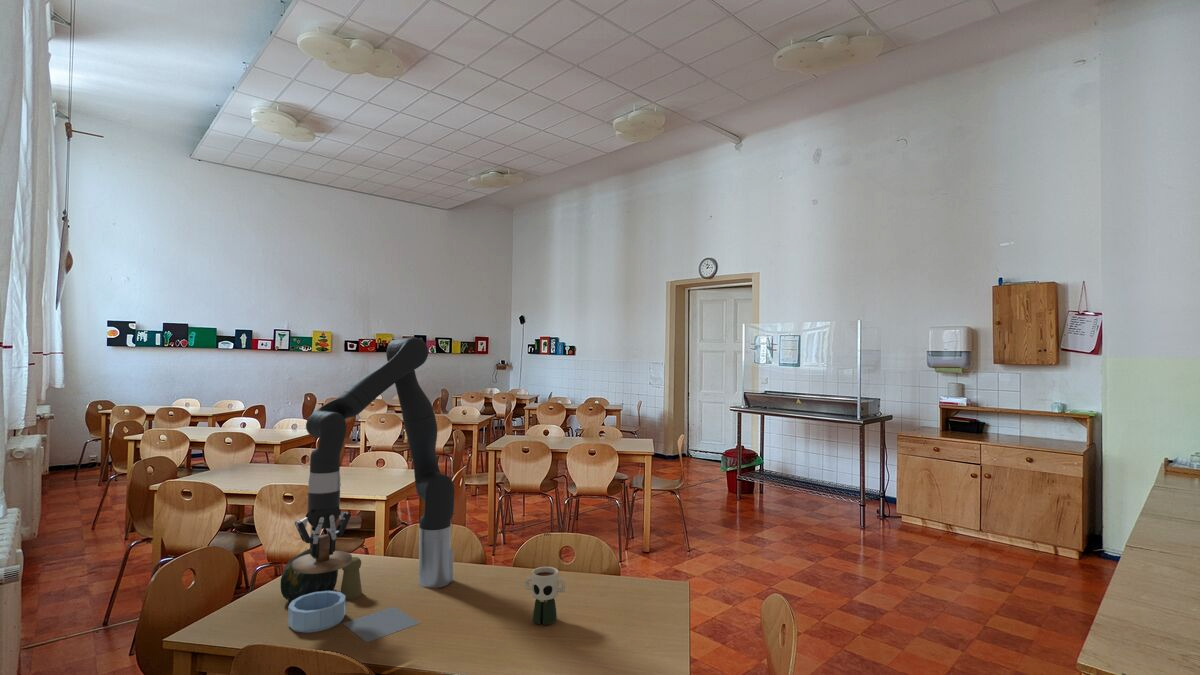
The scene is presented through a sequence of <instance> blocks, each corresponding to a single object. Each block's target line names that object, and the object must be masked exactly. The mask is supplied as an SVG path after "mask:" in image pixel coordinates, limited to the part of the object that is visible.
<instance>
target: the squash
mask: <svg viewBox="0 0 1200 675" xmlns="http://www.w3.org/2000/svg"><path fill="white" fill-rule="evenodd" d="M307 554H310V548H308V549H306V550H304V551H303V552H301V553H299V554H298V555H296V556H294V557H292V558H291V559H290V560H289V561H288V562H287V563H286V566H285V567H284V569H283V573H282V575H281V577H280V591H281V595H282V596H283V598H285V599H286V600H287V601H293V600H295V599H296V598H298V597H300V596H303V595H306V594H310V593H313V592H321V591H334V589H335V588H336V585H337V582H338V581H337V580H338V575H339V569H338V570H335V571H331V572H326V573H317V574H304V573H298V572H295V571H294V570H293V569H292V562H293V561H294V560H295V559H297V558H299V557H301V556H304V555H307Z"/></svg>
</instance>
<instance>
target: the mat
mask: <svg viewBox="0 0 1200 675" xmlns="http://www.w3.org/2000/svg"><path fill="white" fill-rule="evenodd" d="M342 624H343V625H344V626H345V627H346V628H347V629H349V630H350V631H352V633H354V634H355V635H356V636H358V637H359V638H360V639H361V640H363V641H364V642H365V643H369V642H372V641H375V640H378V639H381V638H383V637H386V636H389V635H391V634H394V633H395V634H396V633H398V632H400V631H403V630H406V629H408V628H411V627H414V626H417V625H419V624H421V622H420V621H417V620H416V619H415V618H413V617H411V616H410V615H409V614H407V613H405V612H404V611H403V610H400V609H399V608H397V607H396V606H392V607H389V608H384V609H381V610H380V611H377V612H373V613H371V614H367V615H364V616H360V617H358V618H355V619H352V620H348V621H345V622H343V623H342Z"/></svg>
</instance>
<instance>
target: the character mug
mask: <svg viewBox="0 0 1200 675" xmlns="http://www.w3.org/2000/svg"><path fill="white" fill-rule="evenodd" d="M559 572H560V571H559V570H558V568H556V567H553V566H541V567H540V566H539V567H537V568H534V569H532V570H531V576H525V579H524V588H525V590H531V595H532V597H533V598H534V599H535V601H534V608H533V614H532V615H533V616H532V621H533V623H534V624H537V625H540V624H541V622H542V625H543V626H544V625H551V624H553V623H555V622H556V621H557V618H558V616H557V608H556V607H557V606H556V600H555V598H557V597H558V595H559V593H565V592H566V580H565V579H560V578H559V576H560V573H559ZM529 581H531V585H530V584H529V583H530V582H529ZM559 584H561V588H559V587H560V586H559Z"/></svg>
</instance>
